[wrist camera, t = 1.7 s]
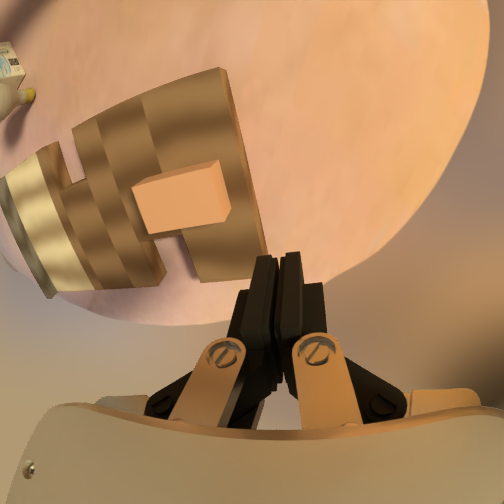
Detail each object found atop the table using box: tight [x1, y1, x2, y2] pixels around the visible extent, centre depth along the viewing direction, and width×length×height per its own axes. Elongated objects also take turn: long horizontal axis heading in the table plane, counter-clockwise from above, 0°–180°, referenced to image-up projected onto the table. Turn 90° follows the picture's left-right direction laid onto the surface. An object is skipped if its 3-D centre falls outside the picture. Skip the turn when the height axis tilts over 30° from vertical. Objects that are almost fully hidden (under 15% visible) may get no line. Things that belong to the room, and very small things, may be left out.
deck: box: [0, 67, 268, 299], centre depth 30 cm, size 22×38×5 cm, turn 102°
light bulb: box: [0, 83, 35, 122], centre depth 19 cm, size 5×6×10 cm
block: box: [132, 160, 231, 234], centre depth 25 cm, size 5×8×3 cm, turn 102°
